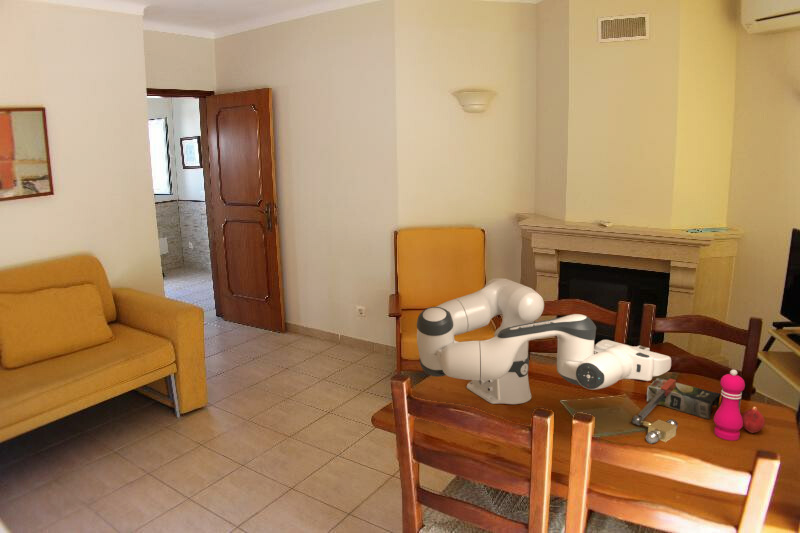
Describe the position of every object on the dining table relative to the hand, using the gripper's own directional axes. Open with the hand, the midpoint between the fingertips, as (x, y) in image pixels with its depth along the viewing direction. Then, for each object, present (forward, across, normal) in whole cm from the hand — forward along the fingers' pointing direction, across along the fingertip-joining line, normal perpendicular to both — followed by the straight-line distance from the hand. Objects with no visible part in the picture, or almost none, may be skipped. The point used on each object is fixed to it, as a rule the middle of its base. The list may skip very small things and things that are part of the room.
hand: (644, 349), depth 164 cm
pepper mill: (+14, +20, -24) cm, 34 cm away
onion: (+20, +24, -24) cm, 39 cm away
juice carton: (+23, +2, -24) cm, 34 cm away
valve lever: (-1, 0, -23) cm, 23 cm away
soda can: (+26, +16, -24) cm, 39 cm away
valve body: (0, +5, -24) cm, 25 cm away
